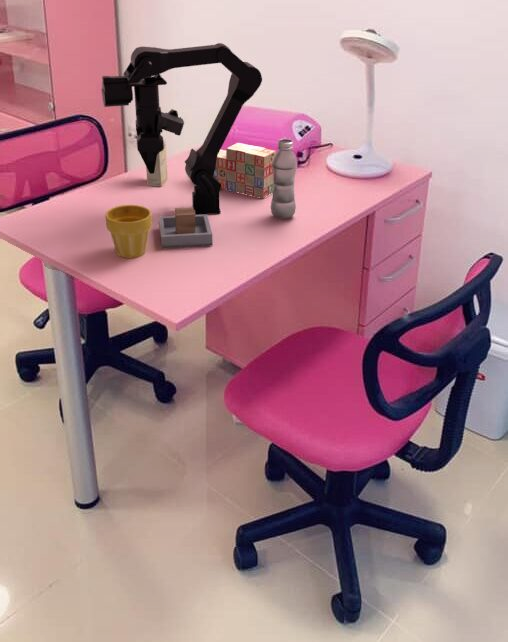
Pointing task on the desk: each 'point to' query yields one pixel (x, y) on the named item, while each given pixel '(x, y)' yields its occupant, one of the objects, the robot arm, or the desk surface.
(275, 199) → the plastic bottle
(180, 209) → the walnut block
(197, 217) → the tray
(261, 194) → the stack of blocks
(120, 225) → the plant pot
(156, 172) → the skincare box
